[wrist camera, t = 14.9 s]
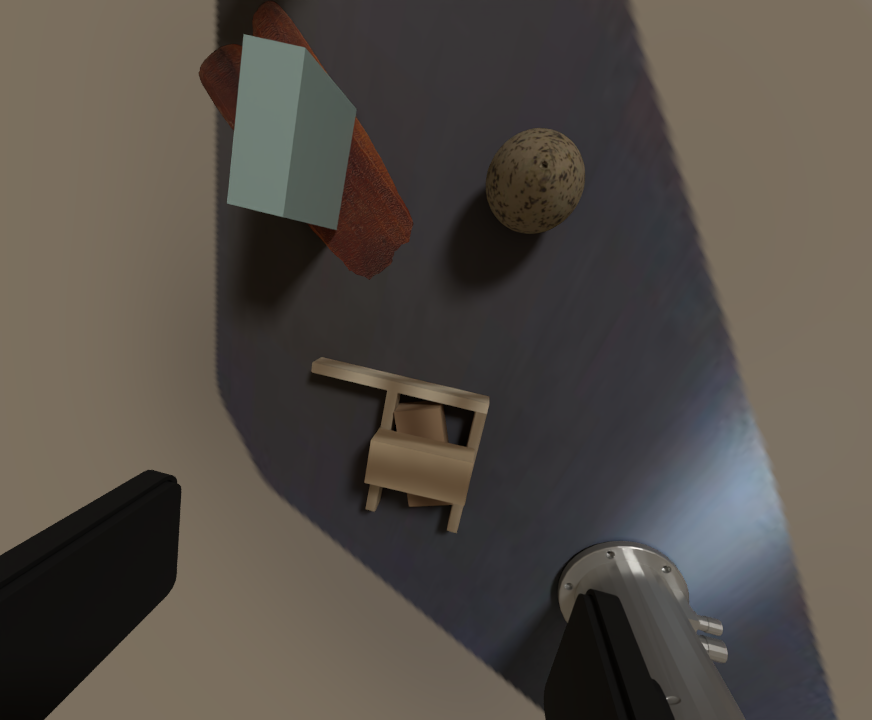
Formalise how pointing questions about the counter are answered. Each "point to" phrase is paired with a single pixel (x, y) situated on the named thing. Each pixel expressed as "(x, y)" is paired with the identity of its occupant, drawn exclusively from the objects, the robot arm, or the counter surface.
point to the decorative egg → (535, 181)
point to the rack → (394, 390)
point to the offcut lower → (422, 433)
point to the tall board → (289, 135)
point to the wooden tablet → (366, 174)
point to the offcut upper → (420, 466)
